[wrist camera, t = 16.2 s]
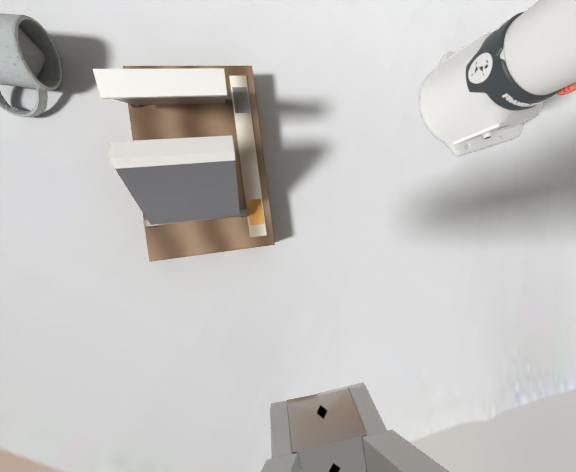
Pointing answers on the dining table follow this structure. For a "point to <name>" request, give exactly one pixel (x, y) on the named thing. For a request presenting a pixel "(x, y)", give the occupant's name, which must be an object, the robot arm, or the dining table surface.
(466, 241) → the dining table surface
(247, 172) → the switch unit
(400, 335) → the dining table surface
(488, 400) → the dining table surface
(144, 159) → the grey board
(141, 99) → the lever slate
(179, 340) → the dining table surface
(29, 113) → the ceramic mug
